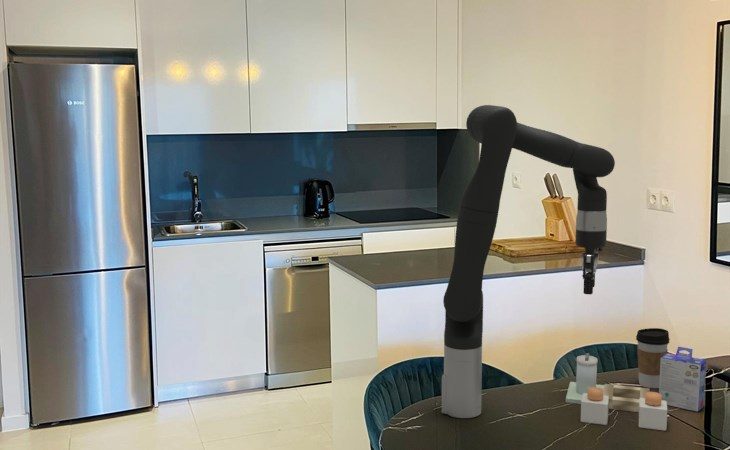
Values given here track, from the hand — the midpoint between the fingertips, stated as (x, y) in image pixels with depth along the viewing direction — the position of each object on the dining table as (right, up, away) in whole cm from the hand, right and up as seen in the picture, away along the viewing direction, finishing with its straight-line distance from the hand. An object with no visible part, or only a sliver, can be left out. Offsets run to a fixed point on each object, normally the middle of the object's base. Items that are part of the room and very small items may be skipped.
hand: (589, 290), depth 189 cm
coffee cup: (+20, -27, +11) cm, 35 cm away
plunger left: (-2, -29, -11) cm, 31 cm away
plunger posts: (+4, -30, -13) cm, 33 cm away
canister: (0, -27, +4) cm, 27 cm away
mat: (0, -28, +4) cm, 28 cm away
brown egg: (+10, -29, -15) cm, 34 cm away
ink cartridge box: (+22, -29, -3) cm, 36 cm away
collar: (+9, -28, -1) cm, 30 cm away
